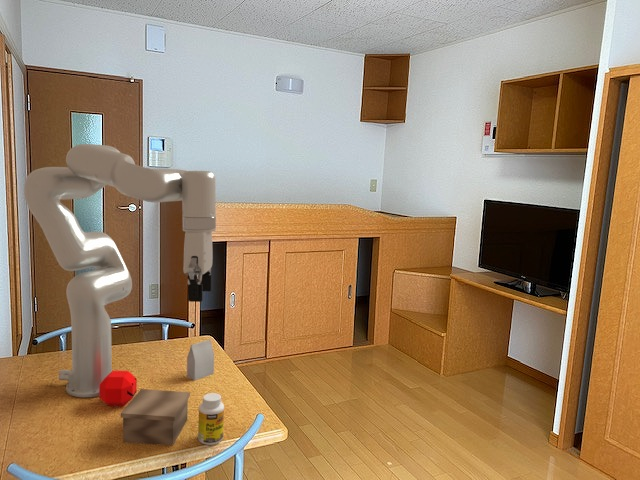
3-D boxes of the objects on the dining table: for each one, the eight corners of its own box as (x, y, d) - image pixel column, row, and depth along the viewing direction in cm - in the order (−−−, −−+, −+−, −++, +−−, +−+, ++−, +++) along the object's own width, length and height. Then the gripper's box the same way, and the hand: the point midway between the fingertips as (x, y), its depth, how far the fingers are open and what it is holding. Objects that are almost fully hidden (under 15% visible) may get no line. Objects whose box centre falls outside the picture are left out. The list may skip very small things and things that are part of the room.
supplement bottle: (203, 448, 110) (204, 404, 108) (194, 436, 114) (195, 394, 113) (227, 442, 113) (228, 399, 111) (217, 430, 117) (218, 389, 116)
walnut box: (120, 443, 110) (120, 413, 109) (140, 416, 121) (141, 388, 120) (174, 446, 110) (174, 416, 109) (189, 419, 121) (189, 392, 120)
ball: (130, 410, 124) (130, 381, 123) (96, 409, 123) (96, 380, 122) (138, 395, 132) (138, 367, 131) (107, 394, 131) (107, 367, 130)
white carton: (213, 373, 148) (214, 341, 146) (194, 380, 142) (195, 347, 141) (205, 370, 150) (206, 338, 148) (186, 376, 145) (187, 343, 143)
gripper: (192, 220, 125) (193, 287, 128) (172, 228, 108) (174, 305, 111) (222, 220, 125) (222, 287, 128) (207, 228, 108) (208, 306, 111)
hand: (200, 295), depth 119 cm, fingers open, 9 cm apart
